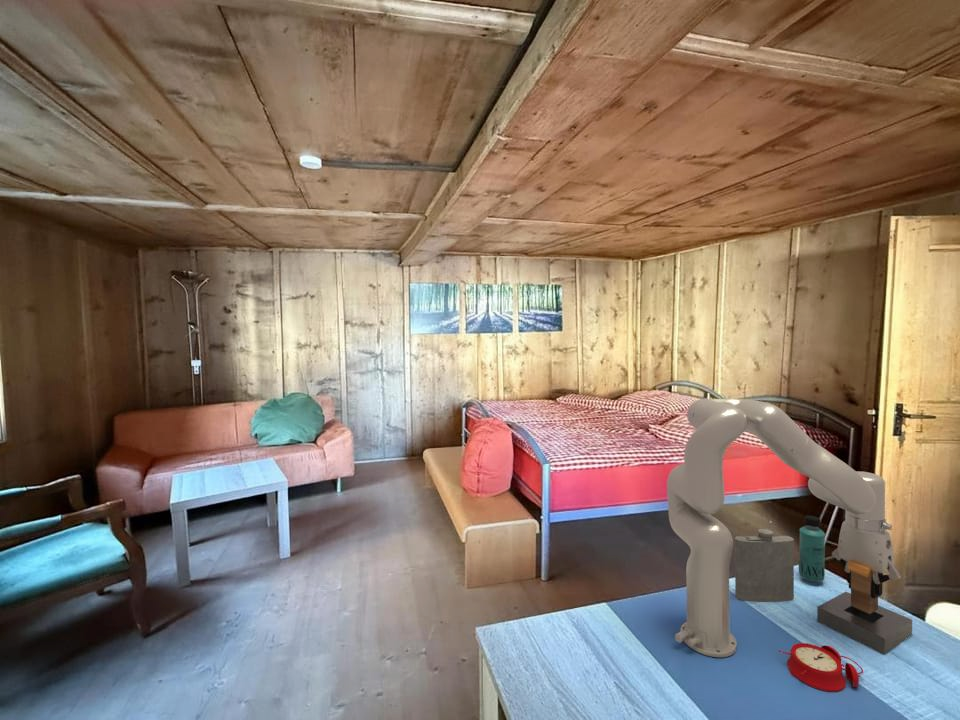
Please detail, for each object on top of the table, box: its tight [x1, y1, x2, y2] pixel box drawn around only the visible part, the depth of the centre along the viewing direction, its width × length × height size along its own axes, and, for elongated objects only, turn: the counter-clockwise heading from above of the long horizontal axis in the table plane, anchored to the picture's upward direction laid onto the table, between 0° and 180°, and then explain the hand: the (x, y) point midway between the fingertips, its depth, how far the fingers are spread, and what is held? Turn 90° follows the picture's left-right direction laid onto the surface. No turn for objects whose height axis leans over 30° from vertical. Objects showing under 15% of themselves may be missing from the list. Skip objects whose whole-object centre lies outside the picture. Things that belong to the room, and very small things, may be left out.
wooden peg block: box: [848, 561, 879, 614], centre depth 113 cm, size 7×4×12 cm, turn 116°
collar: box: [816, 591, 913, 656], centre depth 113 cm, size 14×14×4 cm
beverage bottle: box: [798, 515, 826, 583], centre depth 134 cm, size 6×7×20 cm
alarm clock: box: [778, 642, 864, 693], centre depth 99 cm, size 10×6×15 cm
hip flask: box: [734, 528, 795, 603], centre depth 127 cm, size 16×4×20 cm, turn 87°
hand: (864, 591), depth 113 cm, fingers closed on wooden peg block, 4 cm apart
